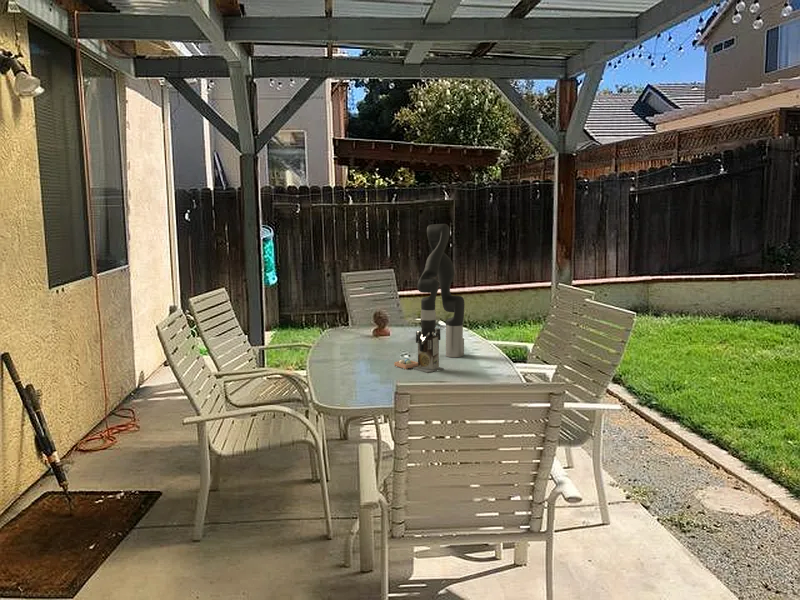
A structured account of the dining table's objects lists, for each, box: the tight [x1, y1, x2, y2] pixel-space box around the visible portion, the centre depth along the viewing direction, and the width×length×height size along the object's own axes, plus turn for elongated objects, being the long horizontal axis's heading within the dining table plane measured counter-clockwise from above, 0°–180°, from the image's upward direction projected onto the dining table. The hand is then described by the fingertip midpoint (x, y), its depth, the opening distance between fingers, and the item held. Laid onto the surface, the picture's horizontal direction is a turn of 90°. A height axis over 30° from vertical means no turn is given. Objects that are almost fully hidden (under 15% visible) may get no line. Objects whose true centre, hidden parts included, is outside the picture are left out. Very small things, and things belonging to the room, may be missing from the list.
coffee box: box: [417, 335, 440, 370], centre depth 345 cm, size 9×6×16 cm
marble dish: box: [393, 359, 418, 370], centre depth 351 cm, size 9×9×2 cm
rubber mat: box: [411, 366, 445, 374], centre depth 346 cm, size 11×12×1 cm
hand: (428, 350), depth 345 cm, fingers open, 8 cm apart
